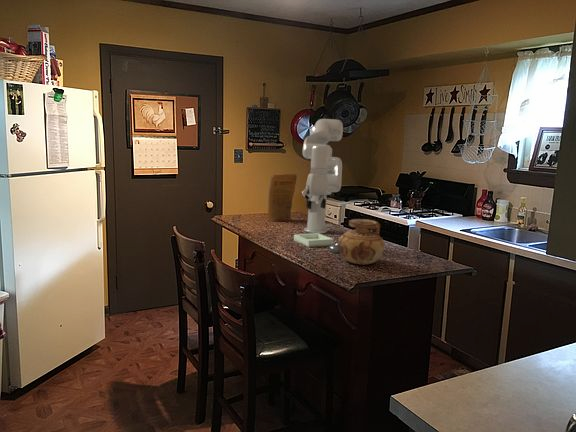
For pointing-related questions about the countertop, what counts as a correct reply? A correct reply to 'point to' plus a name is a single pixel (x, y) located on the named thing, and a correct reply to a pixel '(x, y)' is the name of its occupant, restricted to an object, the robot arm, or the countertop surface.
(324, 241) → the tray
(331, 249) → the pot lid
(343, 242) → the clay pot
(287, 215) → the pancake mix bag
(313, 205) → the lighter
